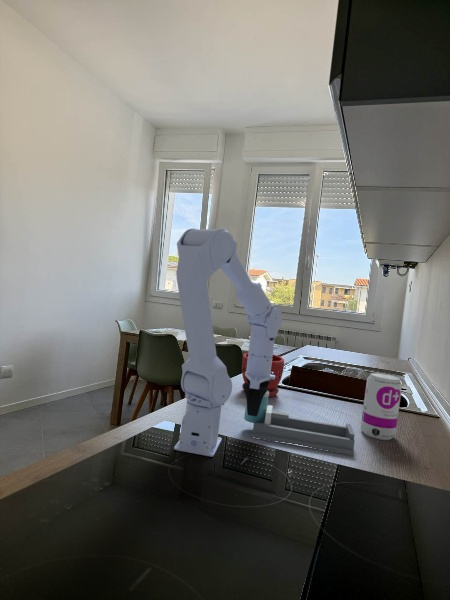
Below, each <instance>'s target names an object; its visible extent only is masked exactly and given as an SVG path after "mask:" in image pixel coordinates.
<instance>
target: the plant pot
mask: <svg viewBox="0 0 450 600" xmlns="http://www.w3.org/2000/svg"><path fill="white" fill-rule="evenodd" d="M247 360H248V352H245V353H244V354H243V355H242V361H241V374H242V379H243V381H244V382H243V383H248V382H247V377H246V376H245V372H246V369H247ZM284 367H285V359H284V358H283V357H282V356H280V355H277V354H273V357H272V365H271V375H275V379H269V380H270V383H269V385H268V386H267V388H268V391H269V396H268V398H272V397H274V396H276V395H277V394H278V393H279V391H280V390H279V388H278V386H279V384H280V382H281V380H282V378H283V373H284ZM241 387H242V389H243V384H242V385H241ZM243 391H244V389H243Z"/></svg>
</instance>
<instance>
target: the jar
mask: <svg viewBox="0 0 450 600" xmlns="http://www.w3.org/2000/svg"><path fill="white" fill-rule="evenodd" d="M268 396H269V391H268V390H267V392H266V393H265V395H264V397H263V399H262V401H261V405H260V408H259V412H258V415H257V416H250V415H248V413H247V400H246V401H245V409H244V417H243V419H244V420H245V421H246V422H249V423H251V424H254V422H257V423H265V416H266V410H267V406H268V405H269V404H268V403H269V397H268Z"/></svg>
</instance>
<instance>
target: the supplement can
mask: <svg viewBox="0 0 450 600" xmlns="http://www.w3.org/2000/svg"><path fill="white" fill-rule="evenodd" d="M369 374H370V375H369V376H368V377H367V378H366V385H365V391H364V399H363V405H362V406H363V407H362V415H361V421H360V430H361V431H362V433H363V434H364V435H366V436H367V437H369V438H372V439H376V440H381V441H390V440H392V439H393V438H395V437H396V432H397V427H398V426H397V424H398V418H399V410H400V403H401V396H402V390H403V389H402V388H403V385H402V382H401V378H400V377H399V376H396V375H392V374H388V373H383V372H382V373H381V372H371V373H369Z"/></svg>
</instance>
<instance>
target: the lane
mask: <svg viewBox="0 0 450 600" xmlns="http://www.w3.org/2000/svg"><path fill="white" fill-rule="evenodd" d="M252 437H255V438H260V439H265V440H270V441H269V442H271V441H278V442H285V443H292V444H298V445H303V446H308V447H312V448H316V449H322V450H328V451H332V452H331V453H333V452H338V453H337V454H339V453H343V454H342V455H344V454H346V455H345V456H349V457H354V454H355V450H354V448H355V431H354V430H353V427H352V424H350V423H346V424H345V426H344V425H340V424H338V425H337V424H332V423H326V422H320V421H314V420H309V419H301V418H297V417H290V416H289V418H288V420H285V419H280V418H274V417H271V424H270V425H268V424H265V423H257V422H254V423H253V428H252V435H251V438H252ZM260 439H259V440H260ZM265 440H264V441H265ZM316 449H315V450H316ZM322 450H321V451H322ZM328 451H327V452H328Z"/></svg>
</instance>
